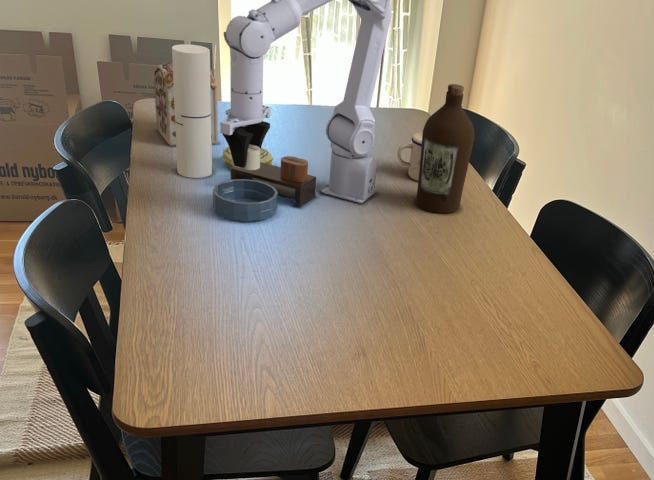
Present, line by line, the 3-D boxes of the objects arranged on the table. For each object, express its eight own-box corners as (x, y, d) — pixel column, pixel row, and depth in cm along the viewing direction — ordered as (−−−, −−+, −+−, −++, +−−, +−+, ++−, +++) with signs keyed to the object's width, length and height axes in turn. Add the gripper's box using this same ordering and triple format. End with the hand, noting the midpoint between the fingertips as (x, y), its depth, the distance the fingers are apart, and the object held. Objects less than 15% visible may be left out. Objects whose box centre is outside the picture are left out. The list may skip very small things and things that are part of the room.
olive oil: (423, 191, 167) (440, 75, 154) (468, 203, 165) (489, 86, 151) (405, 206, 159) (421, 85, 145) (452, 219, 156) (472, 97, 142)
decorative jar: (156, 130, 180) (151, 50, 170) (204, 128, 185) (202, 51, 175) (168, 147, 171) (164, 64, 161) (219, 144, 176) (217, 64, 166)
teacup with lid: (442, 171, 180) (449, 122, 173) (448, 185, 172) (456, 135, 166) (392, 167, 178) (398, 118, 171) (397, 181, 170) (403, 130, 164)
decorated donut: (254, 179, 162) (254, 162, 160) (213, 166, 165) (213, 149, 163) (280, 166, 170) (281, 149, 168) (241, 154, 173) (241, 138, 171)
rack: (315, 197, 157) (316, 176, 155) (299, 208, 152) (300, 186, 149) (248, 179, 161) (248, 158, 159) (230, 188, 156) (230, 168, 153)
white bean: (264, 166, 144) (264, 147, 142) (253, 172, 141) (253, 152, 139) (238, 159, 146) (238, 140, 144) (227, 165, 142) (227, 145, 140)
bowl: (287, 207, 151) (288, 189, 149) (256, 228, 141) (257, 209, 139) (235, 193, 154) (234, 174, 152) (201, 212, 144) (200, 193, 142)
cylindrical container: (203, 180, 158) (200, 55, 144) (171, 173, 158) (165, 49, 145) (217, 169, 164) (215, 48, 150) (186, 163, 164) (181, 42, 150)
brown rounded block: (310, 178, 154) (311, 160, 152) (301, 183, 151) (302, 166, 149) (286, 171, 155) (286, 154, 153) (276, 177, 152) (277, 159, 150)
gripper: (248, 77, 142) (247, 148, 150) (204, 93, 131) (206, 168, 138) (281, 85, 141) (278, 156, 148) (240, 101, 129) (239, 177, 137)
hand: (246, 162), depth 143 cm, fingers closed on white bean, 4 cm apart
